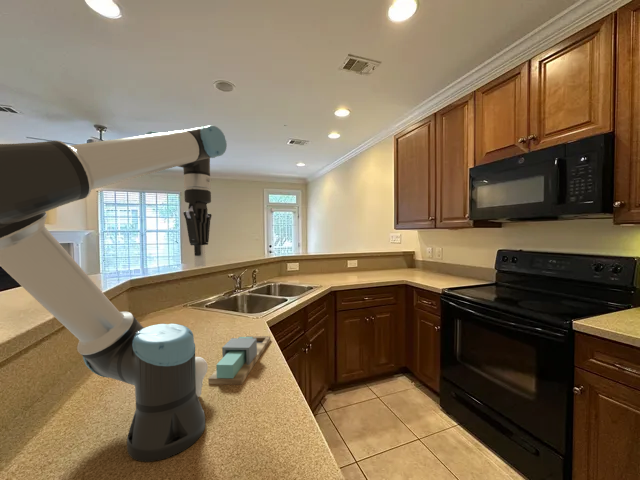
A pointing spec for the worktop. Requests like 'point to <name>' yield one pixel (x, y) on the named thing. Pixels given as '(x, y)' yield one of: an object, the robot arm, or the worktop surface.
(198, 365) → the lightbulb
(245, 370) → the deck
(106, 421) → the worktop surface
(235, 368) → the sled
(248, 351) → the tunnel
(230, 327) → the worktop surface
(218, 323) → the worktop surface
